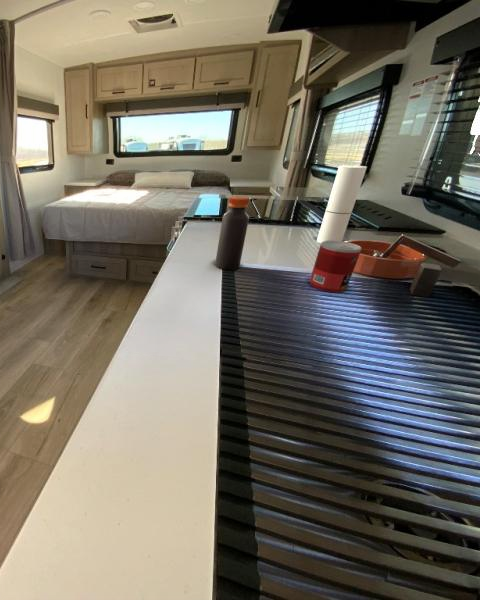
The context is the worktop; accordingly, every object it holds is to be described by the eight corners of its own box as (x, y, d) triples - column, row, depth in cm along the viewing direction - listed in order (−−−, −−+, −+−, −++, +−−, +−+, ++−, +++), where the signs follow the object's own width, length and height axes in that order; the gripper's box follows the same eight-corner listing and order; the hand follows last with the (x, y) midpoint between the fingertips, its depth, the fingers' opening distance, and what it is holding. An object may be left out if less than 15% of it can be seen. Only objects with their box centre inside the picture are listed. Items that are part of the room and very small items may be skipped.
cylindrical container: (340, 240, 118) (365, 165, 107) (341, 246, 113) (368, 167, 101) (316, 238, 121) (338, 165, 110) (316, 243, 116) (339, 167, 105)
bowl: (414, 264, 96) (422, 246, 94) (422, 286, 83) (432, 265, 81) (336, 253, 107) (341, 236, 104) (333, 271, 93) (339, 252, 91)
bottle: (241, 271, 96) (255, 200, 87) (216, 270, 97) (228, 200, 88) (236, 263, 101) (249, 195, 93) (213, 262, 103) (223, 195, 94)
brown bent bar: (426, 284, 91) (458, 257, 86) (429, 291, 88) (462, 263, 82) (367, 255, 97) (393, 228, 91) (367, 260, 93) (395, 233, 88)
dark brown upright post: (426, 291, 81) (439, 264, 77) (428, 297, 78) (442, 270, 75) (409, 288, 82) (421, 262, 79) (411, 294, 79) (423, 267, 76)
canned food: (347, 295, 80) (363, 251, 75) (308, 288, 84) (321, 247, 79) (345, 283, 86) (360, 242, 81) (308, 278, 90) (320, 238, 85)
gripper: (552, 84, 66) (513, 159, 72) (517, 91, 80) (487, 153, 86) (504, 87, 69) (471, 159, 75) (479, 94, 84) (453, 153, 90)
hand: (479, 156), depth 81 cm, fingers open, 8 cm apart
